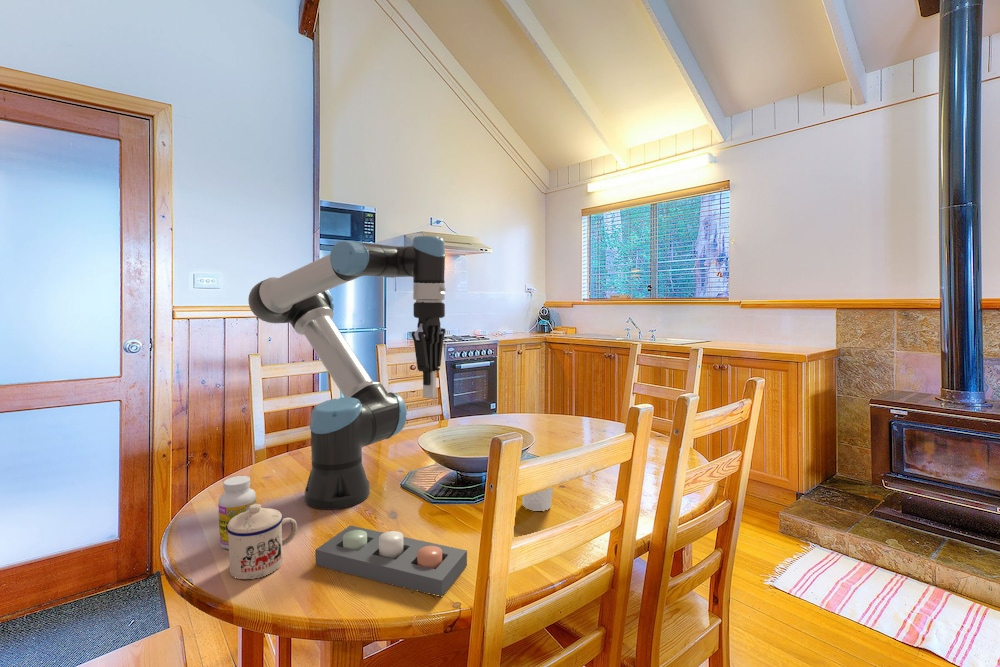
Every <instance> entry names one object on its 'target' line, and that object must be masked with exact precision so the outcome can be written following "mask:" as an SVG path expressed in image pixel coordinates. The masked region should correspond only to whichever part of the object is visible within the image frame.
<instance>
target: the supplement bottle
mask: <svg viewBox="0 0 1000 667" xmlns="http://www.w3.org/2000/svg"><path fill="white" fill-rule="evenodd" d="M222 483H223V486H222V487H223V490H224V492H223V493H221V495H220V496H219V498H218V501H217V502H218V504H217V505H218V526H219V527H218V528H219V530H218V531H219V545H220V547H222V548H223V549H225V548H226V549H225V550H229V537H228V532H227V525H228V523H229V521H230V520H231V519H232V518H233V517H235V516H236V515H238V514H240V513H243V512H245V511H247V510H249V507H250V506H251V505H253V504H257V493H256V490H254V489H252V488H250V485H251V478H250V476H249V475H248V476H247V475H237V476H232V477H229V478H227V479H225V480H224V481H223V482H222Z"/></svg>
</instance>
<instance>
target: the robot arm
mask: <svg viewBox="0 0 1000 667" xmlns="http://www.w3.org/2000/svg"><path fill="white" fill-rule="evenodd" d="M412 239H413V240H412V245H408V246H407V245H405V246H396V245H395V246H393V245H385V244H379V243H378V244H376V243H369V242H363V241H357V240H341V241H338V242H336V243H335V244H334V245H333V247H332V248H331V250H330V253H329V254H327V255H324V256H323V257H320V258H319V259H317V260H314V261H312V262H310V263H308V264H306V265H304V266H301V267H299V268H297V269H295V270H292V271H290V272H288V273H286V274H284V275H281V276H280V277H275V276H272V277H268V278H265V279H264V280H261V281H260V282H258V283H256V284H255V285H254V286H253V287H252V288H251V289H250V292H249V295H248V307H249V308H250V310H251V312H252V314H253V315H254V316H256V317H257V318H258V319H260V320H261V321H263V322H265V323H270V324H288V323H289V324H291V326H292V328H293V330H294V332H296V333H297V334H298V335H301V336H305V338H306V340H307V342H309V344H310V346H311V347H312V349H313V351H314V352H315V354H316V355H317V356H318V358H319V360H320V362H321V363H322V365H323V367H325V369H326V371H327V373H328V374H329V376H330V377H331V378H332V381H333V382H334V383H335V386H336V387H337V388H338V389H339V391H340V393H341V394H342V396H343V397H339V398H331V399H328V400H325V401H323V402H320V403H318V404H317V405H315V406H314V407H313V409H312V410H311V414H310V423H309V429H310V444H311V445H310V448H311V450H310V451H311V470H310V473H309V476H308V480H307V483H306V486H305V489H304V503H305V504H306V505H307V506H309V507H311V508H314V509H319V510H337V509H343V508H349V507H353V506H355V505H357V504H360V503H362V502H363V501H365V500H366V499H367V498H368V497H369V495H370V494H371V493H370V491H371V489H370V486H371V485H370V482H369V480H368V477H367V475H366V471H365V468H364V465H363V455H362V454H363V452H362V450H363V448H364V447H367V446H369V445H372V444H373V445H374V444H376V443H378V442H381V441H383V440H388V439H391V438H392V437H393V436H396V435H397V434H399V433H400V432H401V431H403V429H404V428H405V425H406V422H407V415H408V412H407V406H406V403H405V400H404V398H402V396H400V395H399V394H398V393H395V392H393V391H391V392H388V391H387V390H386V387H384V385H383V384H382V382H378V381H373V379H372V377H371V376H370V375H369V373H368V372H367V370H366V369H365V367H364V366H363V364H362V363H361V361H360V359H359V358H358V357H357V355H356V354H355V352H354V351H353V349H352V347H351V346H350V344H349V342H347V340H346V338H344V336H343V335H342V333H341V331H340V330H339V328H338V327H337V325H336V324H335V322H334V321H333V318H334V307H335V304H334V303H333V301H334V299H333V296H332V293H331V292H330V290H331V289H334V288H336V287H338V286H340V285H343V284H345V283H348V282H350V281H353V280H356V279H358V278H360V277H364V276H365V277H366V276H367V277H385V278H391V279H392V278H407V277H409V278H410V277H412V279H413V281H412V282H413V283H412V284H413V285H412V286H413V288H412V289H413V290H412V291H413V294H412V298H413V300H414V301H415V302H413V304H412V306H413V317H414V318H417V320H418V322H417V330H415V331H411V338H412V340H413V344H414V352H415V358H416V367H417V370H418V372H422V398H425V399H426V398H427V399H435V398H436V397H437V395H436V394H437V383H436V382H437V374H436V373H437V372H439V371H440V369H441V364H442V354H443V346H444V337H445V334H446V328H444V327H443V328H442V327H441V321H440V319H442V318H445V316H446V312H445V311H446V310H445V308H446V307H445V306H446V305H445V302H443V301H444V300H445V298H446V297H445V293H446V291H447V290H446V288H445V283H446V282H445V269H446V268H445V266H446V251H445V240H444V239H443V238H442V237H440V236H436V235H435V236H434V235H433V236H432V235H418V236H415V237H414V238H412ZM436 371H437V372H436Z"/></svg>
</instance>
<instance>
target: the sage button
mask: <svg viewBox="0 0 1000 667" xmlns="http://www.w3.org/2000/svg"><path fill="white" fill-rule="evenodd" d="M366 544H367V533H366V532H365V531H363V530H353V531H349V532H347V533H345V534H344V535H343V548H347V549H352V550H356V551H358V550H360V549H361V548H362V547H364V546H365V545H366Z"/></svg>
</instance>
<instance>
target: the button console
mask: <svg viewBox="0 0 1000 667" xmlns="http://www.w3.org/2000/svg"><path fill="white" fill-rule="evenodd" d="M353 530H363V531H365V532H366V533H367V544H366V545H365V546H364V547H362V548H361V549H360V550H358V551H356V550H352V549H347V548H343V535H344V534H345V533H347V532H349V531H353ZM383 533H385V532H383V531H379V530H375V529H368V528H364V527H359V526H356V525H355V526H354V525H348V526H347V527H345V528H344V529H342V530H341V531H340V532H339V533H336V535H334V536H333V537H331V538H330V539H329V540H327V541H326V542H324V543H322V545H319V547H317V548H316V549H315V552H314V553H315V566H317V565H318V566H317V567H320V566H321V568H324V567H325V569H328V568H329V570H333V571H335V572H336V571H337V572H341V573H344V574H348V575H352V576H355V575H357V576H356V577H359V576H360V578H364V579H368V580H372V581H375V580H376V581H375V582H379V581H380V583H383V582H384V583H383V584H387V583H389V584H388V585H390V584H393V585H392V586H394V585H396V586H395V587H398V586H400V587H399V588H402V587H405V588H404V589H406V588H408V589H407V590H410V589H413V590H412V591H414V590H418V591H421V592H420V593H422V592H425V593H430V594H435V595H439V596H443V594H444V593H445V592H446V591H447V590H448V591H449V589H450V588H451V587H452V586H453V585H454V583H455V582H456V581H455V580H458V578H459V577H460V576H461V574H463V572H464V570H465V569H466V568H467V567H466V566H468V550H466V549H462V548H457V547H453V546H447V545H444V544H438V543H434V542H430V541H426V540H425V541H424V540H420V539H415V538H411V537H406V536H403V551H404V552H403V553H402V554H401V555H400V556H399V557H398V558H397V559H396V560H394V559H390V558H386V557H381V556H379V536H380V535H381V534H383ZM425 546H437V547H439V548H441V549H442V563H441V564H440V565H439V566H438V567H437V568H436V569H432V568H428V567H424V566H420V565H417V552H418V550H419V549H421V548H422V547H425ZM451 585H452V586H451ZM450 586H451V587H450ZM418 591H417V592H418ZM448 591H447V592H448ZM447 592H446V593H447ZM425 593H424V594H425ZM446 593H445V594H446ZM443 597H444V596H443Z"/></svg>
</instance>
